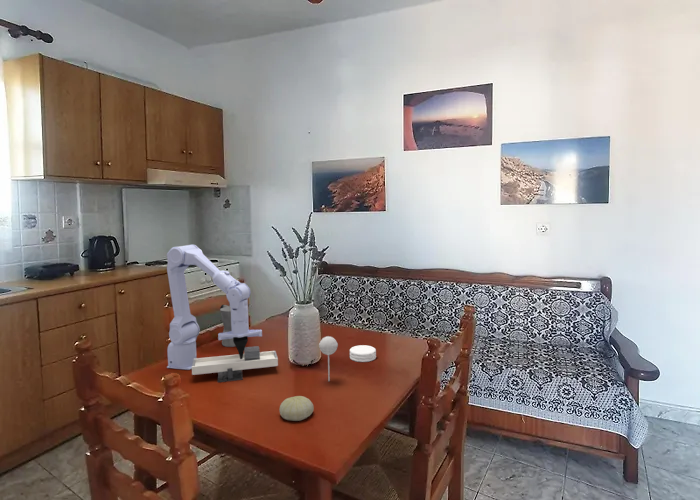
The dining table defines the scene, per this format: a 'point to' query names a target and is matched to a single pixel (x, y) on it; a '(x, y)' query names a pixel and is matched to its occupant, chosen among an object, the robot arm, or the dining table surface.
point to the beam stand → (230, 375)
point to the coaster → (362, 353)
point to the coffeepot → (226, 324)
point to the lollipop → (328, 348)
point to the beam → (232, 363)
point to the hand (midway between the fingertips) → (241, 358)
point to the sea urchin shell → (296, 408)
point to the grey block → (251, 353)
